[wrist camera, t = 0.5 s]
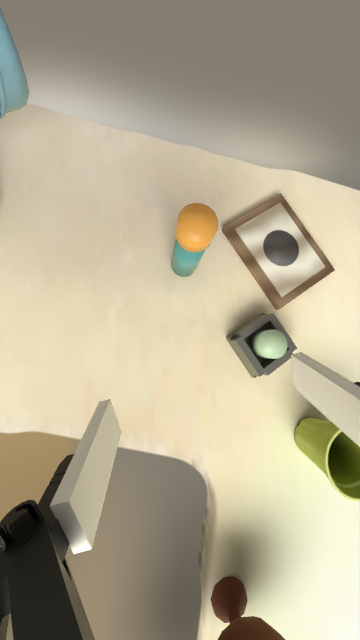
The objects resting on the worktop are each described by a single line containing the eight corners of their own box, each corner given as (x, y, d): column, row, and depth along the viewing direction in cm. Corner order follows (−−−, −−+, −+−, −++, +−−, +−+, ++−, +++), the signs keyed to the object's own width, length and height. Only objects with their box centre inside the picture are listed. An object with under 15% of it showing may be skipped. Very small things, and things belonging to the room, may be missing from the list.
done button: (245, 340, 34) (254, 339, 32) (266, 326, 35) (276, 323, 32) (261, 363, 34) (271, 364, 31) (281, 348, 35) (292, 348, 32)
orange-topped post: (165, 260, 37) (170, 214, 25) (187, 247, 38) (203, 196, 25) (179, 282, 37) (193, 247, 24) (201, 269, 38) (225, 229, 25)
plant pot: (328, 402, 37) (380, 418, 29) (340, 459, 36) (397, 492, 28) (280, 411, 36) (319, 431, 28) (291, 470, 35) (334, 509, 27)
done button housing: (225, 338, 37) (233, 336, 33) (260, 313, 38) (271, 310, 35) (251, 376, 36) (262, 379, 33) (285, 351, 38) (299, 351, 34)
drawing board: (221, 230, 40) (224, 225, 38) (277, 197, 42) (281, 192, 40) (276, 309, 39) (281, 308, 37) (329, 272, 41) (336, 269, 40)
